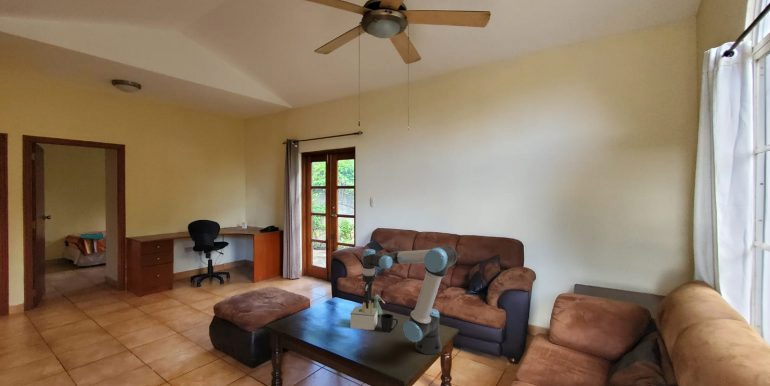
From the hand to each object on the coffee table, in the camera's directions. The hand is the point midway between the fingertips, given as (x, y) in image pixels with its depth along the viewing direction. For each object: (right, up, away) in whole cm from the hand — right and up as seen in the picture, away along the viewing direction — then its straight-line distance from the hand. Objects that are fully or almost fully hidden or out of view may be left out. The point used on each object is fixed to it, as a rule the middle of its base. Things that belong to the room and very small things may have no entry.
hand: (367, 311), depth 201 cm
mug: (+13, -17, +11) cm, 24 cm away
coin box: (-4, -16, +19) cm, 25 cm away
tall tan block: (0, -1, 0) cm, 1 cm away
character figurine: (+3, -16, +36) cm, 40 cm away
